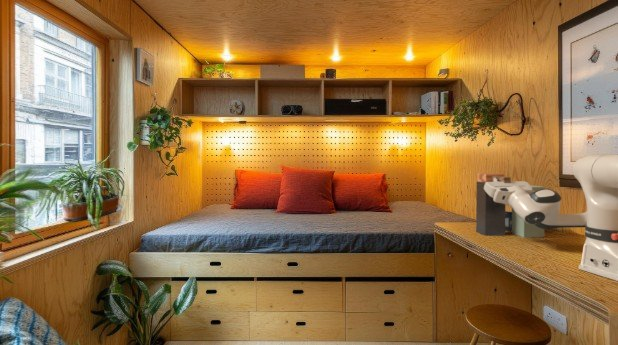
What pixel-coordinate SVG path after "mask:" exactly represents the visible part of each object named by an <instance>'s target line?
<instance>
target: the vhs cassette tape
mask: <svg viewBox="0 0 618 345" xmlns="http://www.w3.org/2000/svg"><path fill="white" fill-rule="evenodd" d="M505 232H510V233H512V211H506V210H505Z"/></svg>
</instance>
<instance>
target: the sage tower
mask: <svg viewBox="0 0 618 345" xmlns="http://www.w3.org/2000/svg"><path fill="white" fill-rule="evenodd" d="M530 186H531V187H532V189H533V191H534V192H535V191H538V190H541V189H546V186H539V185H531V184H530ZM511 212H512V232H511V234H512V235H516V236H518V237H521V238H525V239H526V238H527V239H528V238H545V230H546V229H541V228H539V227H537V226H535V225H533V224H529V223H526V222H525V221H523V220H522V219H521V218H520V217H519V216H518V215H517V214H516V213H515V211H514V209H513V208H512V207H511Z"/></svg>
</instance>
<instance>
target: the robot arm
mask: <svg viewBox="0 0 618 345" xmlns="http://www.w3.org/2000/svg"><path fill="white" fill-rule="evenodd" d="M572 174H573V176H574V179H576V180H577V181H578V183H580V184H579V185H580V186H581V189H582V192H583V194H584V197H585V202H586V211H585V212H581V213H560V209H561V205H562V204H561V203H562V196H561V195H560V194H559V193H558V192H557V191H555V190H553V189H550V188H545V189H541V190H538V191H535V192H534V191H533V189H532V187H531V186H530V185H531V184H530V183H529V182H527V181H525V180H524V181H523V180H522V181H521V180H520V181H517V180H516V181H513V180H511V183H504V182H499V179H498V178H494V179H493V181H494V182H486V183H485V185H484V190H485V191H486V193H487V194H488V195H489V196H490V197H492V198H493V200H494V201H495V202H498V203H503V204H505V206H509V207H510V208H511V209H512V208H513V209H514V211H515V213H516V214H517V215H518V216H519V217H520V218H521V219H522V220H523V221H525V222H526V223H529V224H533V225H535V226H537V227H539V228H541V229H545V230H553V229H559V228H560V229H561V228H562V229H563V228H585V229H584V236H585V240H584V244H583V247H582V255H581V261H580V264H579V265H578V269H579V270H582V271H584V272H588V273H590V274H594V275H597V276H599V277H600V276H601V277H604V278H607V279H611V280H613V281H616V282H618V154H617V153H615V154H607V153H606V154H605V153H604V154H603V153H602V154H599V153H598V154H590V155H586V156H582V157H580V158H579V159H577V160H576V161H575V162H574V163H573V166H572Z"/></svg>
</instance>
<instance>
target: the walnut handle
mask: <svg viewBox="0 0 618 345" xmlns="http://www.w3.org/2000/svg"><path fill="white" fill-rule="evenodd" d="M494 178H498V179H499V182H504V183H511V181H512V180H511V179H512V177H510V176H505V174H504V173H496V172H495V173H492V172H491V173H477V182H494V181H493V179H494Z"/></svg>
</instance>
